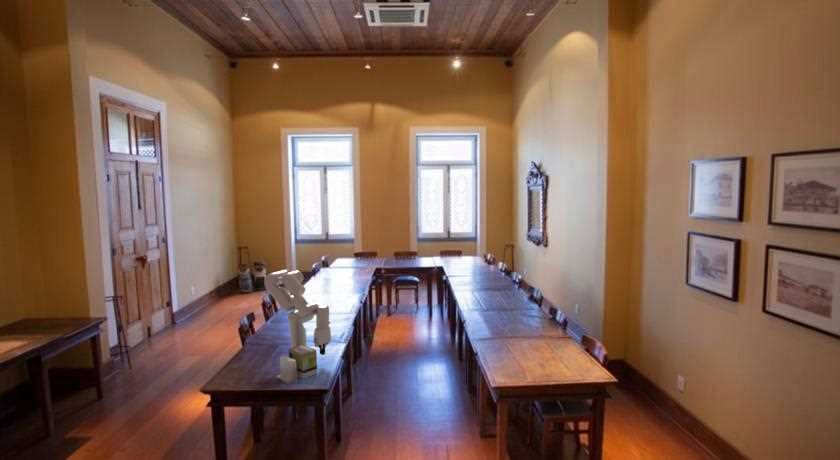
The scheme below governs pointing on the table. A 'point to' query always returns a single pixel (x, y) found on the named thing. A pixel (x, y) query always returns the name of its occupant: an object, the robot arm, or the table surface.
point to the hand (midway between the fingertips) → (322, 353)
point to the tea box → (304, 360)
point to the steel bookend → (287, 370)
